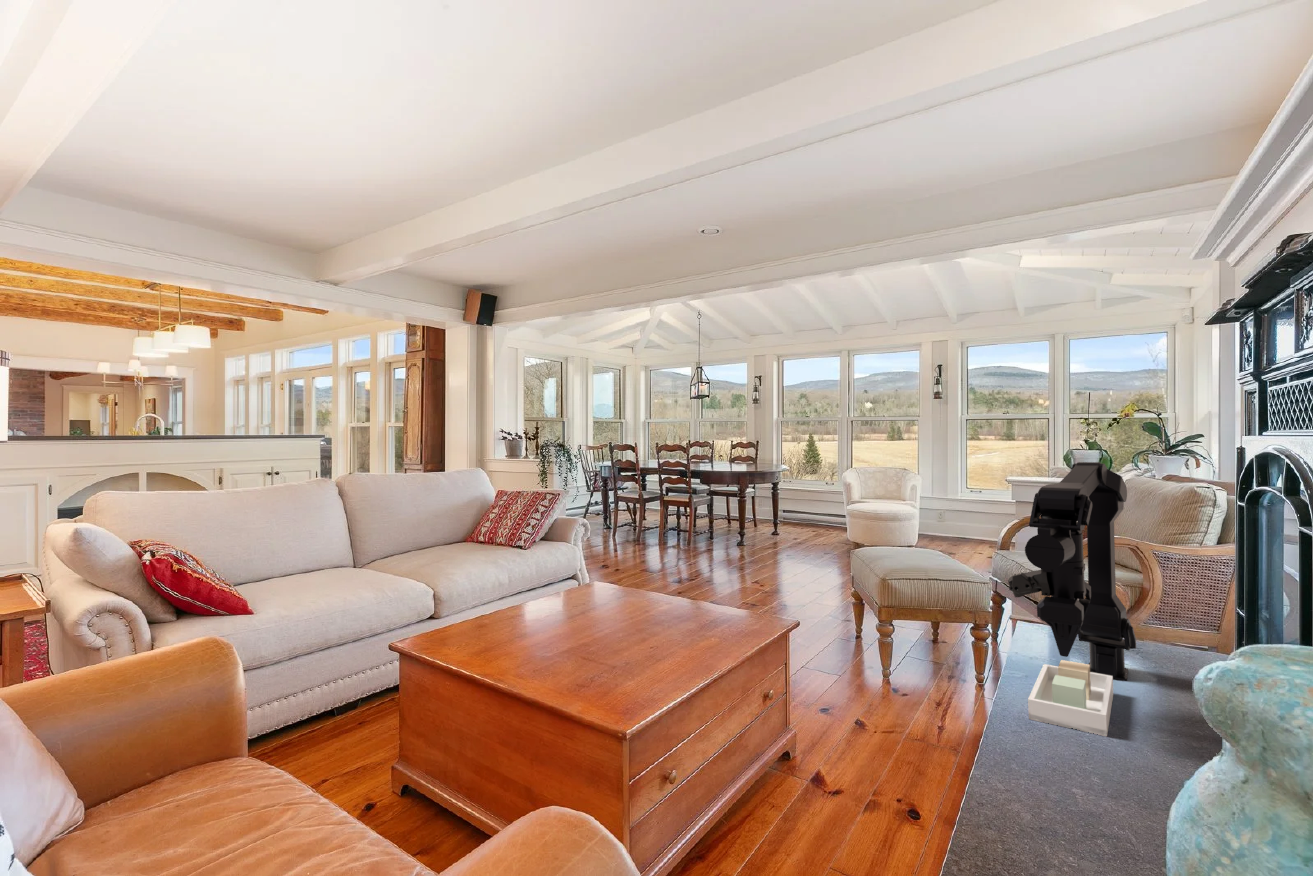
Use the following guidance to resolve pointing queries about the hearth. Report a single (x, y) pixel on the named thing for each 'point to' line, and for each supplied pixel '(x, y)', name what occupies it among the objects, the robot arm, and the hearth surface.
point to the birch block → (1076, 673)
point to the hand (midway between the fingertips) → (1067, 648)
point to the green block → (1069, 691)
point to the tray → (1069, 716)
